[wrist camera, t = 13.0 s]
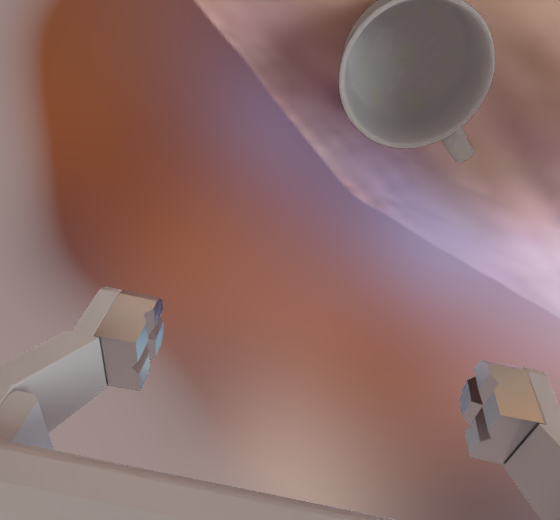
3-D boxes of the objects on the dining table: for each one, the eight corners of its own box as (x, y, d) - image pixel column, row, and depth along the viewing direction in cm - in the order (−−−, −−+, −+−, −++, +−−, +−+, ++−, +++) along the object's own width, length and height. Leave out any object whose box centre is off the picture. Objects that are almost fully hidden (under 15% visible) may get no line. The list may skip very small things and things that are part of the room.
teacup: (321, 19, 39) (313, 43, 33) (453, -55, 35) (472, -42, 29) (383, 159, 46) (386, 201, 40) (500, 111, 42) (523, 150, 36)
